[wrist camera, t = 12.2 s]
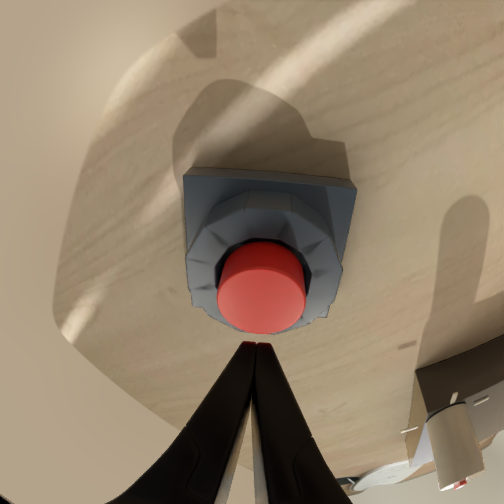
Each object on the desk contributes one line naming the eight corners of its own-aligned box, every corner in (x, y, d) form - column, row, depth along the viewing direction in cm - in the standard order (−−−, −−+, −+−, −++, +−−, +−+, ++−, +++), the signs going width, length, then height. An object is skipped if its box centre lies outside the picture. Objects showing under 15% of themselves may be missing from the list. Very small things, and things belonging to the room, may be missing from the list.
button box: (196, 292, 16) (183, 332, 14) (190, 166, 12) (167, 190, 10) (324, 303, 16) (330, 344, 13) (351, 179, 12) (370, 206, 10)
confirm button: (223, 301, 13) (217, 330, 11) (223, 237, 11) (214, 263, 10) (297, 307, 13) (298, 337, 11) (308, 244, 11) (313, 271, 10)
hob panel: (390, 365, 19) (402, 413, 15) (554, 293, 14) (577, 325, 11) (390, 446, 28) (394, 473, 25) (503, 401, 24) (512, 425, 20)
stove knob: (428, 414, 16) (445, 489, 10) (471, 397, 15) (493, 468, 10) (423, 431, 17) (435, 497, 12) (461, 416, 17) (478, 479, 11)
